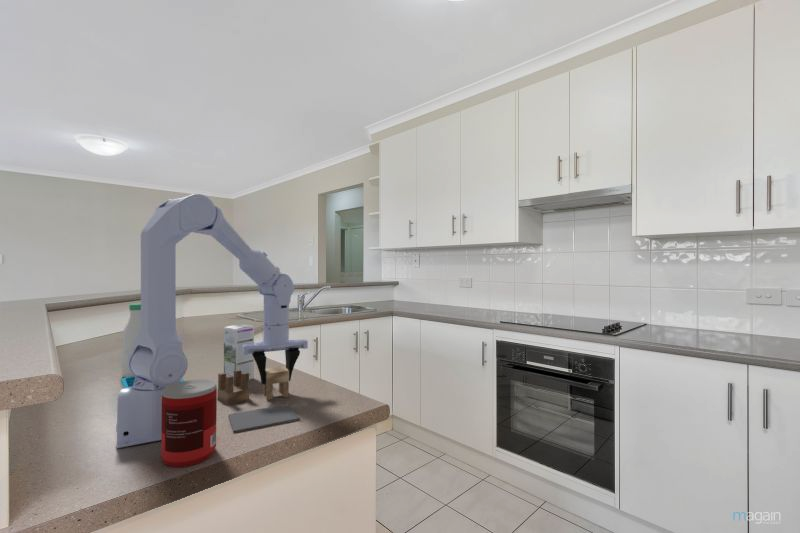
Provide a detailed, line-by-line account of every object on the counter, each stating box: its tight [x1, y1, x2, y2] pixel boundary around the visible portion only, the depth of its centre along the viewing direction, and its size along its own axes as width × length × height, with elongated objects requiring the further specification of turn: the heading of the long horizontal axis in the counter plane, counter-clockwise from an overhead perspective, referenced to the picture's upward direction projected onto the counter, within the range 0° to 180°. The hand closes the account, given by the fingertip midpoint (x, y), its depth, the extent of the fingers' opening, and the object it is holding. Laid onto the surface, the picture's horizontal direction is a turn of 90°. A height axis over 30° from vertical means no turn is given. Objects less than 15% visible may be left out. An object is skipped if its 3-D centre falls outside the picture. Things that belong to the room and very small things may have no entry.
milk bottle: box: [121, 302, 141, 378], centre depth 106 cm, size 8×8×20 cm
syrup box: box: [223, 324, 255, 383], centre depth 102 cm, size 6×6×14 cm
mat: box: [227, 403, 301, 434], centre depth 75 cm, size 12×9×1 cm
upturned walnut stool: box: [217, 370, 250, 405], centre depth 86 cm, size 5×5×6 cm
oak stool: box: [262, 365, 290, 401], centre depth 89 cm, size 5×5×6 cm
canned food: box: [160, 379, 218, 468], centre depth 60 cm, size 8×8×11 cm
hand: (275, 381), depth 89 cm, fingers closed on oak stool, 5 cm apart
